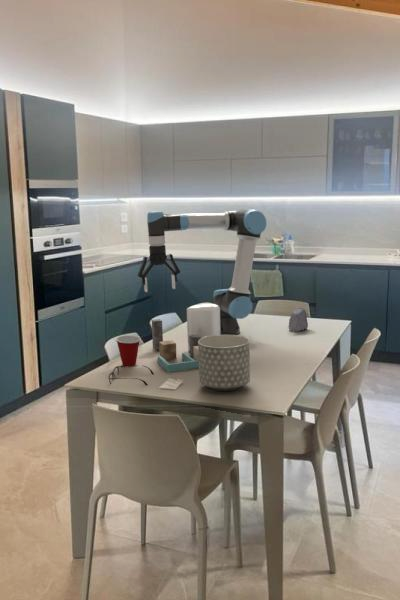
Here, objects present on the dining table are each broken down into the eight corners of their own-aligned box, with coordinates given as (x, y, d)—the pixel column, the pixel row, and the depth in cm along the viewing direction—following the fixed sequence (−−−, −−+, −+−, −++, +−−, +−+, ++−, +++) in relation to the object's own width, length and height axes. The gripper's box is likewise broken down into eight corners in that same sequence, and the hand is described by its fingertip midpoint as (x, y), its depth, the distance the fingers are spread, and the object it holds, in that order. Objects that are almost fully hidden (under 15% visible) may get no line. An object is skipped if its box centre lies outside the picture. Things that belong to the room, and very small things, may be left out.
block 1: (162, 347, 274) (161, 318, 272) (176, 358, 255) (175, 327, 252) (150, 348, 272) (149, 320, 270) (163, 360, 253) (162, 329, 250)
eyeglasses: (117, 373, 237) (117, 364, 236) (155, 374, 235) (154, 364, 234) (107, 386, 221) (106, 377, 220) (147, 387, 219) (146, 377, 218)
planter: (192, 393, 209) (190, 345, 206) (209, 377, 227) (208, 333, 223) (241, 398, 202) (240, 349, 199) (256, 382, 220) (255, 336, 217)
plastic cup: (133, 369, 240) (132, 341, 238) (112, 367, 245) (110, 339, 243) (146, 362, 250) (145, 336, 248) (125, 360, 255) (124, 334, 252)
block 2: (200, 355, 258) (199, 334, 257) (211, 363, 245) (210, 341, 244) (187, 357, 256) (187, 335, 255) (198, 365, 243) (197, 342, 242)
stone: (296, 329, 309) (312, 326, 303) (288, 337, 301) (305, 333, 295) (288, 310, 307) (304, 306, 301) (280, 316, 300) (296, 312, 293)
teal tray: (208, 355, 258) (208, 349, 257) (221, 364, 244) (221, 357, 243) (157, 362, 250) (157, 355, 249) (167, 372, 236) (167, 365, 235)
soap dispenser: (205, 343, 279) (203, 299, 275) (229, 347, 271) (228, 301, 267) (186, 350, 267) (185, 304, 263) (211, 355, 259) (210, 307, 255)
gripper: (180, 242, 272) (182, 286, 276) (129, 246, 264) (132, 291, 268) (185, 243, 265) (187, 288, 269) (132, 247, 257) (136, 294, 261)
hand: (160, 290), depth 269 cm, fingers open, 13 cm apart
